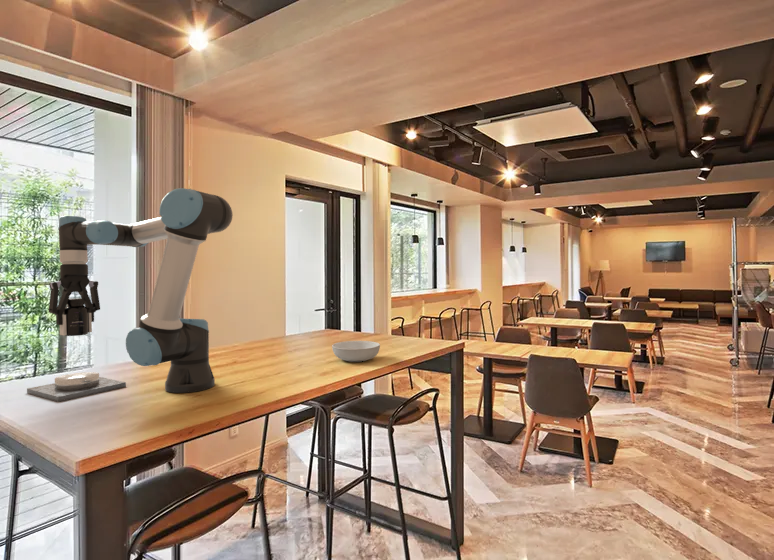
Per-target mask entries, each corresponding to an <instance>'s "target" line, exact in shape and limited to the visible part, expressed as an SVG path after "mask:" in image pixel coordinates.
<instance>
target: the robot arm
mask: <svg viewBox="0 0 774 560" xmlns="http://www.w3.org/2000/svg"><path fill="white" fill-rule="evenodd" d="M159 216H160V217H159ZM159 216H158V217H155V218H152V219H151V218H150V219H147V220H142V221H139V222H135V223H130V224H128V223H127V224H125V223H124V224H123V223H116V222H112V221H110V220H106V219H105V220H101V219H96V220H92V221H91V220H89V221H87V219H86V217H84V216H78V215H64V216H63V215H62V216H60V217H59V218H58V239H59V241H58V243H59V244H58V245H59V263H61V264H60V266H59V272H60V274H59V276H60V279H59V280H57V281H50V282H49V283H48V284H49V288H50V293H49V294H50V295H49V303H48V305H49V306H48V313H49V314H53V315H55V318H56V319H55V322H56V325H57V326H59V336H64V335H67V331H66V315H63V313H64V310H65V307H67V302H68V299H70V296H71V295H72V293H78V294H79V296H80V298H83V299H84V303H85V304H84V306H85V307H87V308H88V333H92V331H93V328H92V327H93V325H92V324H93V323H94V322H95V313H96V311H100V310H101V305H100V304H101V303H100V297H99V290H98V288H99V282H98V281H97V280H95V281H94V280H90V279H89V277H88V276H89V265H88V264H86V263H88V260H89V259H88V245H91V246H92V245H101V246H117V247H130V248H141V247H143V248H144V247H146V246H147V244H149V243H155V242H159V241H163V240H166V244H165V248H164V251H163V256H162V259H161V263H160V267H159V269H158V274H157V278H156V282H155V286H154V288H153V289H154V290H153V293H152V297H151V302H150V305H149V309H148V312H147V313H146V314H143V315H142V316H141V318H140V321H139V325H138V326H137V327H134V328H133V329H131V330H129V332H128V333H127V335H126V338H125V348H126V349H125V350H126V352H127V354H128V356H129V358H130V359H131V360H132V362H134V364H137V365H139V366H142V367H149V366H157V365H159V364H163V363H167V362H170V368H169V370H168V374H167V377H166V380H165V382H164V390H165V392H169V393H175V394H176V393H177V394H181V393H182V394H183V393H185V394H186V393H194V392H195V393H196V392H200V391H206V390H208V389H210V388H213V387H215V383H216V382H215V377H214V374H213V371H212V368H211V365H210V361H209V360H210V359H209V358H210V357H209V356H210V355H209V354H210V351H209V350H210V348H209V345H210V344H209V338H210V336H209V335H210V334H209V333H210V330H209V322H208V321H207V320H205V319H204V318H201V319H200V318H180V316H181V313H182V309H183V305H184V302H185V299H186V298H185V297H186V294H187V290H188V286H189V283H190V280H191V276H192V272H193V269H194V265H195V261H196V257H197V253H198V250H199V246H201V245H200V244H203V243H205V242H206V241H207V238H208V236H209V234H215V233H221V232H223V231H225V230H226V229H228V227H230V225H231V223H232V221H233V210H232V207H231V205H230V204H229V202H228V201H227V200H226V199H225V198H223V197H221V196H219V195H218V194H217V195H216V194H211V193H208V192H207V193H206V192H202V191H199V190H197V189H192V188H183V187H180V188H179V187H178V188H175V189H172V190H171V191H169V192H168V193H166V195H164V196H163V198H162V200H161V203H160V205H159ZM60 287H62V288H63V289H62V292H61V293H62V294H61V296H60V299H59V293H60V292H59V291H60V289H59V288H60ZM87 287H89V291H90V296H89V294H88V289H87Z"/></svg>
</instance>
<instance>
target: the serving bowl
mask: <svg viewBox="0 0 774 560" xmlns="http://www.w3.org/2000/svg"><path fill="white" fill-rule="evenodd" d="M331 347H332V348H331V349H332V352H333V354H334V356H335V357H336V358H338V359H340V360H342V361H345V362H350V363H361V362H362V361H363V362H365V361H368V360H371V359H374V358H375V357H376V356H377V355H378V354H379V352H380V349H381V348H380V347H381V344H380V343H379V342H375V341H369V340H346V341H339V342H335V343H333V344H332V345H331ZM363 362H362V363H363Z"/></svg>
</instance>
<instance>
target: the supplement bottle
mask: <svg viewBox="0 0 774 560" xmlns="http://www.w3.org/2000/svg"><path fill="white" fill-rule="evenodd" d="M84 304H85V303H84V299H83V298H81V297H80V298H69V299H68V302H67V305H66V307H65V310H64V313H63V315H66V331H67V335H63V336H64V337H79V336H87V335H88V334H89V332H88V308H87V307H85V305H84Z"/></svg>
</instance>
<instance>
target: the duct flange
mask: <svg viewBox="0 0 774 560" xmlns="http://www.w3.org/2000/svg"><path fill="white" fill-rule="evenodd" d="M122 388H127V383H126V382H125V381H121V380H116V379H111V378H107V377H102V376H100V373H99V372H97V371H95V372H93V371H85V372H83V371H82V372H73V373H69V374H63V375H59V376H56V377H55V378H54V383H47V384H45V385H44V384H43V385H38V386H33V387H28V388H26V393H27V394H28V393H29V395H32V396H35V395H36V397H39V398H43V399H47V400H50V401H54V402H56V403H59V402H64V401H68V400H73V399H77V398H81V397H82V398H83V397H86V396H90V395H91V396H92V395H94V394H95V395H96V394H99V393H103V392H104V393H105V392H108V391H113V389H114V390H117V389H122Z"/></svg>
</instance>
